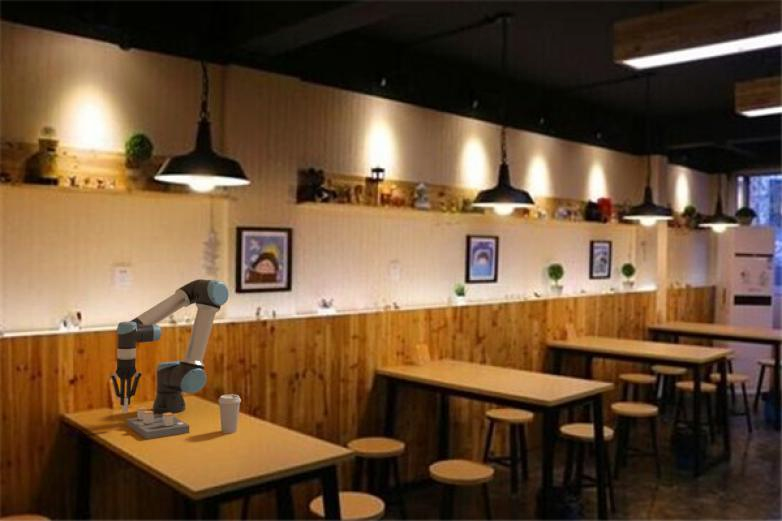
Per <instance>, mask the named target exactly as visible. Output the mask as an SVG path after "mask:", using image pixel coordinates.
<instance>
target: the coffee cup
mask: <svg viewBox="0 0 782 521" xmlns="http://www.w3.org/2000/svg"><path fill="white" fill-rule="evenodd" d="M217 402H218V404H219V414H220V417H219V418H220V430H221V433H224V434H235V433H236V432H237V431H238V423H239V414H240V406H241V402H242V399H241V398H240V395H238V394H233V393H232V394H223V395H220V396H219V398H218V401H217Z"/></svg>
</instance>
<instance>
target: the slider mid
mask: <svg viewBox="0 0 782 521" xmlns="http://www.w3.org/2000/svg"><path fill="white" fill-rule="evenodd" d="M154 413H155V412H153V410H152V409H151V410H147V411H143V422H144V423H145V424H149V423H154V415H155V414H154Z"/></svg>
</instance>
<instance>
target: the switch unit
mask: <svg viewBox="0 0 782 521" xmlns="http://www.w3.org/2000/svg"><path fill="white" fill-rule="evenodd" d="M126 427H128V428H130V429H131V430H132V431H134V432H136V433H137V434H138V435H139V436H141V437H142V438H144V439H146V440H152V439H158V438H163V437H164V438H165V437H166V438H167V437H171V436H177V435H183V434H184V435H185V434H189V433H190V425H189V424H187V423H185V422H184V421H182V420H180V419H179V418H177V417H175V416H174V415H173V425H171V426H165V425H163V413H157V414H154V423H149V424H145V423H144V422H143V420H139V419H138V418H137V416H136V417H128V418H126Z"/></svg>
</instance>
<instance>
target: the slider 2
mask: <svg viewBox="0 0 782 521" xmlns="http://www.w3.org/2000/svg"><path fill="white" fill-rule="evenodd" d="M162 414H163V425H165V426H171V425H173V416H174V413H162Z"/></svg>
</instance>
